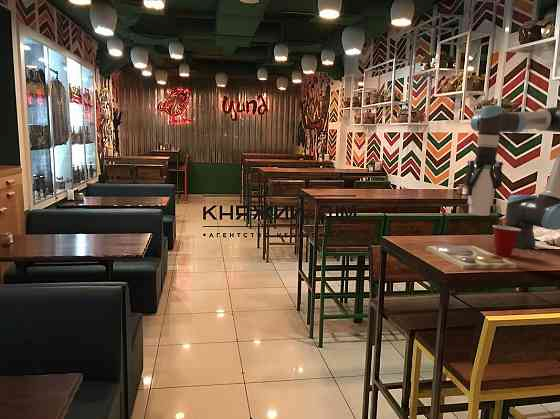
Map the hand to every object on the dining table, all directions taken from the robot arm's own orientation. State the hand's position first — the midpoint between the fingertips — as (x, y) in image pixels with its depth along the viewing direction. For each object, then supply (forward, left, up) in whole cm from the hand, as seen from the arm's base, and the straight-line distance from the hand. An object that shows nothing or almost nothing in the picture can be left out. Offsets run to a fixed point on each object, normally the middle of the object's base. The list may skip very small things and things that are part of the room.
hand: (480, 204), depth 188 cm
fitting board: (+4, +2, -22) cm, 22 cm away
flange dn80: (0, +9, -20) cm, 22 cm away
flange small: (+10, +11, -20) cm, 25 cm away
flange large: (+7, -4, -20) cm, 22 cm away
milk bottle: (0, 0, -4) cm, 4 cm away
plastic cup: (-15, -3, -22) cm, 27 cm away
